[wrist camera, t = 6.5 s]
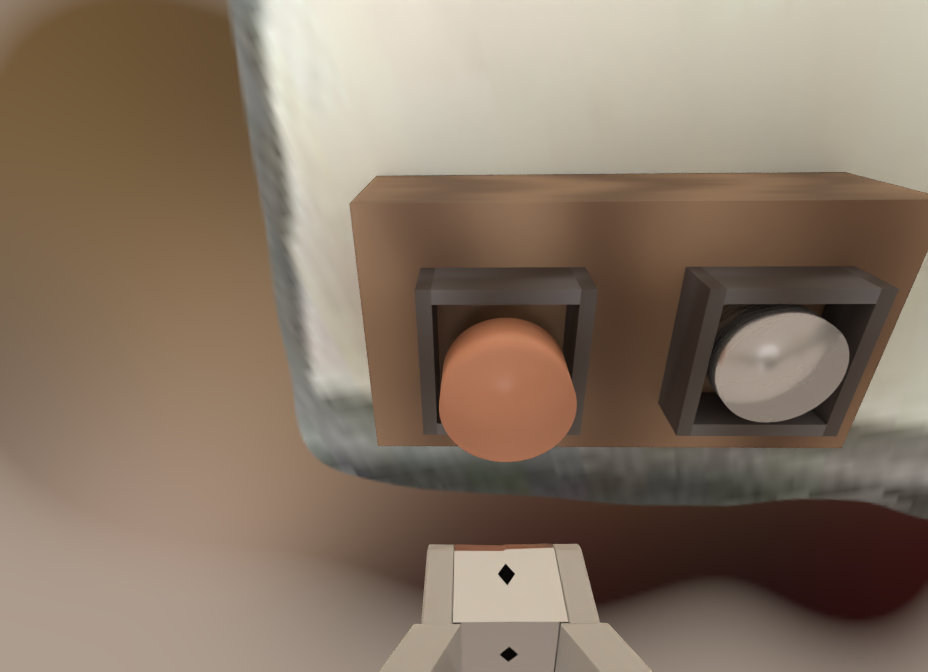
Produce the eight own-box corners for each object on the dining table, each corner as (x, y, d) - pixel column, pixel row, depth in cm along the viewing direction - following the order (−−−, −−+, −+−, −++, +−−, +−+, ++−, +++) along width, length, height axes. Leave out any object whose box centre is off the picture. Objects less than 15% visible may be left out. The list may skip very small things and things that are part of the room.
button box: (845, 172, 20) (1010, 214, 14) (776, 381, 25) (877, 483, 18) (376, 176, 20) (333, 218, 14) (394, 380, 25) (368, 480, 19)
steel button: (827, 291, 17) (868, 316, 15) (792, 389, 19) (825, 422, 17) (708, 291, 17) (734, 317, 15) (685, 389, 19) (706, 422, 17)
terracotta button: (571, 317, 15) (583, 349, 14) (560, 422, 17) (570, 462, 15) (440, 317, 15) (436, 349, 14) (444, 422, 17) (441, 461, 15)
